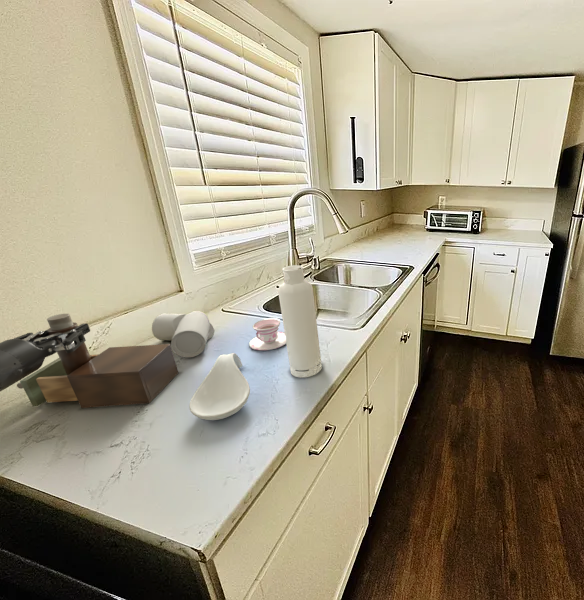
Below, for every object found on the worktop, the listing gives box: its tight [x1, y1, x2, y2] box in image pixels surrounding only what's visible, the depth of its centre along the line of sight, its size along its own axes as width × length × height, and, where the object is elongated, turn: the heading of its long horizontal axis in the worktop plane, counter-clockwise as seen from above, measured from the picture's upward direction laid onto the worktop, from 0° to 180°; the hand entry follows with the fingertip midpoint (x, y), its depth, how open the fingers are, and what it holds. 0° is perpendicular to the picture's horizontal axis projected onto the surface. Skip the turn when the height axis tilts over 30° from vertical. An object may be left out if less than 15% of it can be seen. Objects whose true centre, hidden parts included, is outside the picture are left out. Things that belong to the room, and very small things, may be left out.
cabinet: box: [67, 343, 180, 409], centre depth 78 cm, size 15×13×9 cm
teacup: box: [248, 317, 286, 352], centre depth 101 cm, size 12×12×6 cm
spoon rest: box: [188, 352, 251, 421], centre depth 76 cm, size 24×12×7 cm, turn 21°
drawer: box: [16, 353, 100, 407], centre depth 77 cm, size 18×11×7 cm, turn 96°
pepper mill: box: [46, 313, 91, 375], centre depth 75 cm, size 5×5×16 cm
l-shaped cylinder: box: [151, 310, 215, 358], centre depth 99 cm, size 18×11×20 cm
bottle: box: [277, 264, 323, 379], centre depth 82 cm, size 8×8×28 cm
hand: (74, 327), depth 76 cm, fingers closed on pepper mill, 5 cm apart
